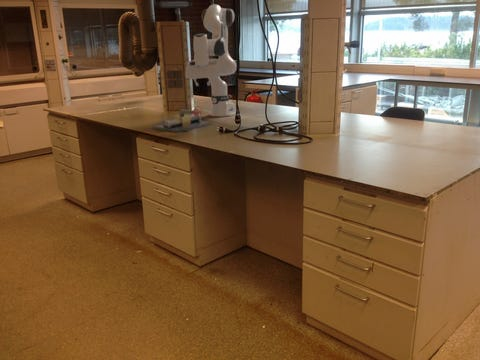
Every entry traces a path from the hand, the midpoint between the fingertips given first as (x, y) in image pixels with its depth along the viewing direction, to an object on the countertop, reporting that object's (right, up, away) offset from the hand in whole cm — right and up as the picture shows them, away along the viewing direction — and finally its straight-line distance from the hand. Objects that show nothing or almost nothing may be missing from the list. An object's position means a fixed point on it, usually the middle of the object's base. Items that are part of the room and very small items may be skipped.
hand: (202, 85), depth 273 cm
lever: (-8, -18, +4) cm, 20 cm away
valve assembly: (-13, -24, +10) cm, 29 cm away
